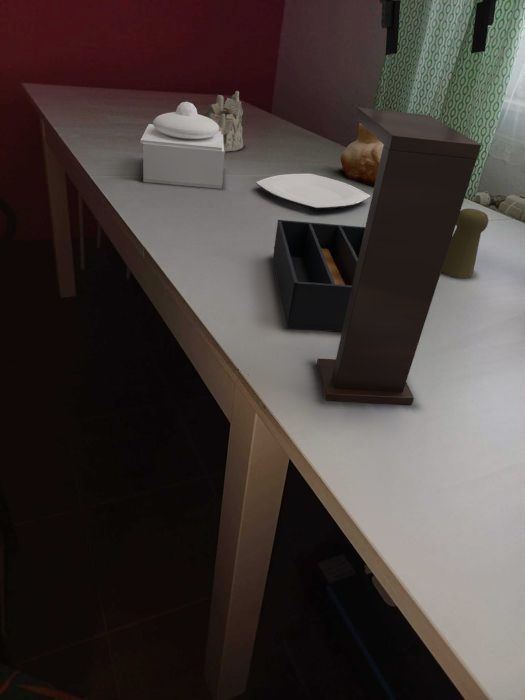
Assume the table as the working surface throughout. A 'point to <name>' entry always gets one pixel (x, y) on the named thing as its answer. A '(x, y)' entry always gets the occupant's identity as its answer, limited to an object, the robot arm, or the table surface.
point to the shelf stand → (399, 254)
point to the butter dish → (183, 149)
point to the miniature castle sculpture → (228, 120)
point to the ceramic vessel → (362, 157)
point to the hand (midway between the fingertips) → (435, 53)
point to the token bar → (333, 267)
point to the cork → (465, 243)
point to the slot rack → (315, 272)
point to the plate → (312, 191)
